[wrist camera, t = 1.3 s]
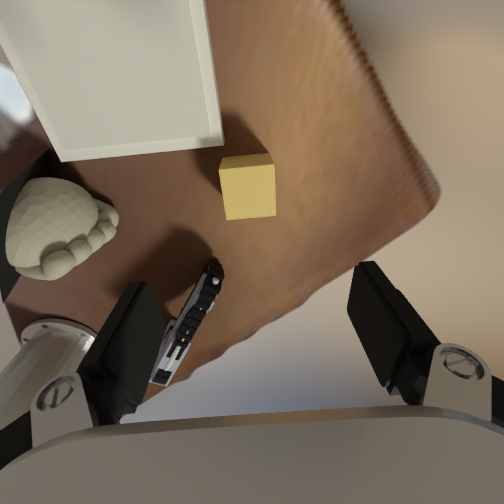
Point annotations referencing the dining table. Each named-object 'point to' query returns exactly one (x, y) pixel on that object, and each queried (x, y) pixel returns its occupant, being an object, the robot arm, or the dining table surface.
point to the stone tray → (116, 74)
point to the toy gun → (187, 323)
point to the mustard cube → (248, 186)
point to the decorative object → (48, 226)
